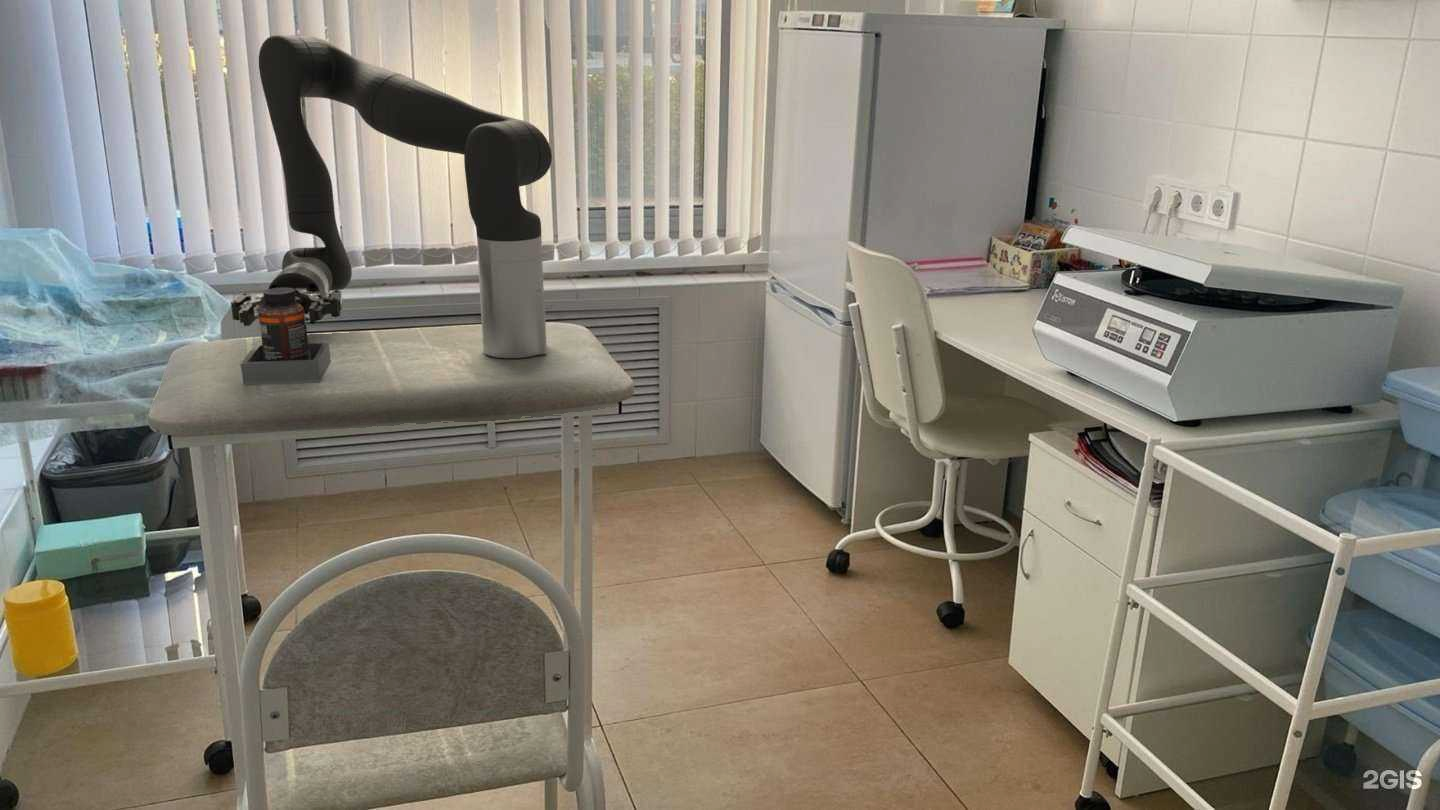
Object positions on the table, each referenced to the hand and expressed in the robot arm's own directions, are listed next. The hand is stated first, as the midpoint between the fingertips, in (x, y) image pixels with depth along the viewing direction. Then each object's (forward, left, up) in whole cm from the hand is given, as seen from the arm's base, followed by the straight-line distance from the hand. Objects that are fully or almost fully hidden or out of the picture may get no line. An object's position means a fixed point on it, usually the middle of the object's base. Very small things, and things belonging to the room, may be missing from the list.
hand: (279, 317), depth 154 cm
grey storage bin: (0, -2, -8) cm, 9 cm away
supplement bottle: (0, -2, -8) cm, 8 cm away
